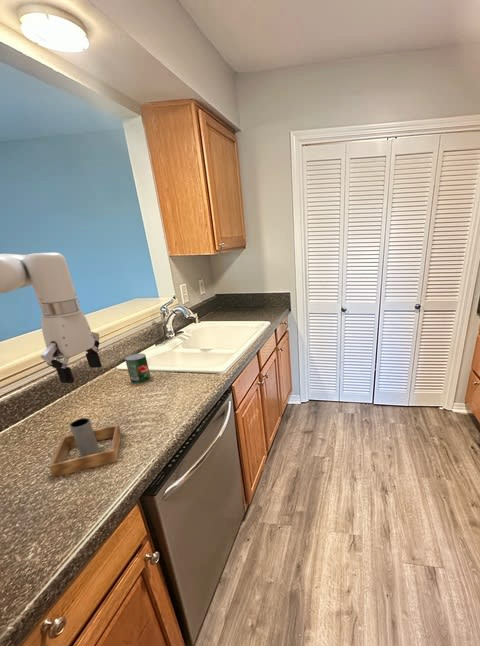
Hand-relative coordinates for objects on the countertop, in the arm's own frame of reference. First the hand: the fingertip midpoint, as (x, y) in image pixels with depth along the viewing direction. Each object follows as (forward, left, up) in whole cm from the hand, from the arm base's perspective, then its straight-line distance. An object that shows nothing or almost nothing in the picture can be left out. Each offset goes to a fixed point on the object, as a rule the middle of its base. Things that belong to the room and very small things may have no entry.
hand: (82, 374), depth 83 cm
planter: (-5, +1, -24) cm, 25 cm away
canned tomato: (+7, +51, -24) cm, 57 cm away
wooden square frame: (-5, +1, -24) cm, 25 cm away
